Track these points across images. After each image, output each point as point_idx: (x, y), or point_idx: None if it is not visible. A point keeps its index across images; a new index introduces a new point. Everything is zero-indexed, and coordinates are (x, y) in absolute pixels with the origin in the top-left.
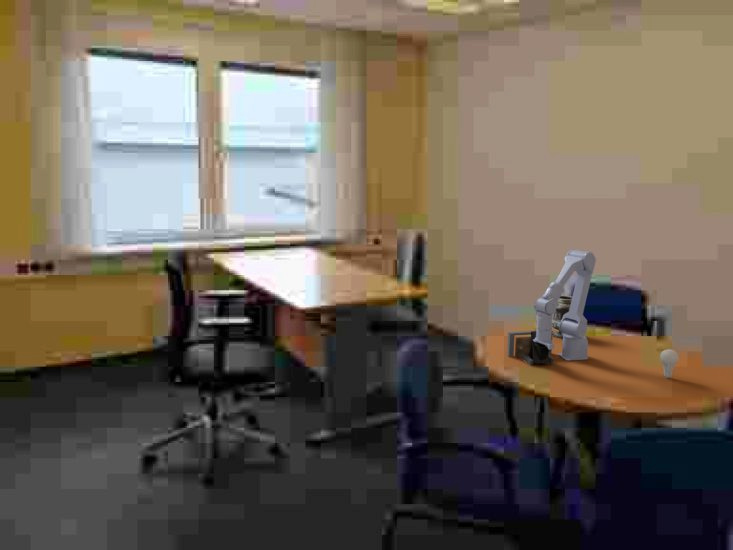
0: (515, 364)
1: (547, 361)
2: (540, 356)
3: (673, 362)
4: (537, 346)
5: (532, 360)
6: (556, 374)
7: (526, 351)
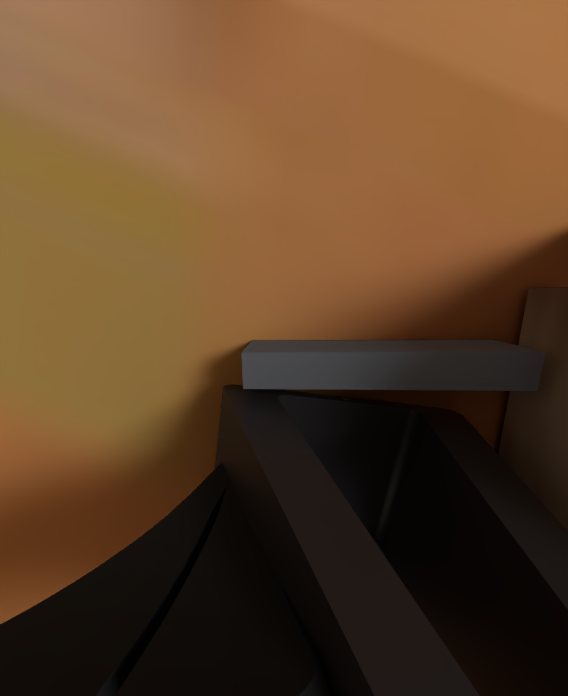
0: (314, 191)
1: None
2: (187, 497)
3: None
4: (25, 692)
5: (247, 381)
6: (18, 465)
7: (566, 438)
